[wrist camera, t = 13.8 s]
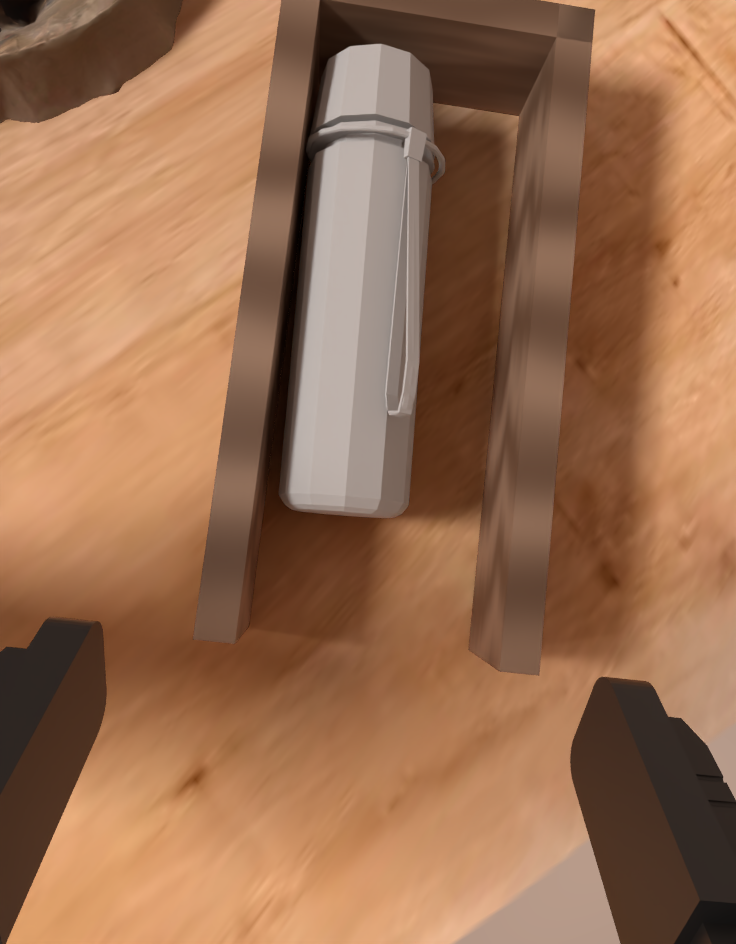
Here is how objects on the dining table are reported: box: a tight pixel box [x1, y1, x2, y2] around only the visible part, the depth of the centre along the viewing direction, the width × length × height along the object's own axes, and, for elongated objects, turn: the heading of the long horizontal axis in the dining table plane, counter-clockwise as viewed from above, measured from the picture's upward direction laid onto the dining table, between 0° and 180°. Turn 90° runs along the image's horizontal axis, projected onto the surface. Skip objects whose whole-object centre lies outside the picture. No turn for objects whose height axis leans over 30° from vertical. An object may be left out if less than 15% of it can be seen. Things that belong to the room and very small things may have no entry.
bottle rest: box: [193, 0, 595, 675], centre depth 39 cm, size 36×17×7 cm, turn 174°
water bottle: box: [279, 44, 445, 518], centre depth 38 cm, size 9×8×25 cm
